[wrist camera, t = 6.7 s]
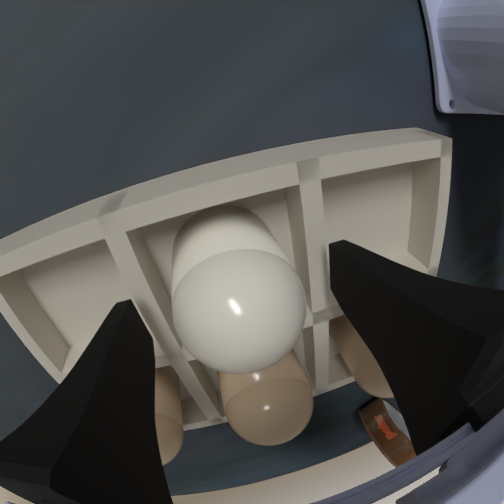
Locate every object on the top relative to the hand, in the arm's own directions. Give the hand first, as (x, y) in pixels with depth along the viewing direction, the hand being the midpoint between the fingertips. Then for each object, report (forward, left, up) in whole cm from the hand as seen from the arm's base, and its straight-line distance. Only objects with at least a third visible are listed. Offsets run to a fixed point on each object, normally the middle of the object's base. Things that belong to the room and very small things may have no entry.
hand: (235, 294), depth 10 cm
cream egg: (0, 0, -3) cm, 3 cm away
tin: (-12, +25, -4) cm, 28 cm away
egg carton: (0, +3, -3) cm, 5 cm away
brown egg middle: (0, +7, -3) cm, 7 cm away
